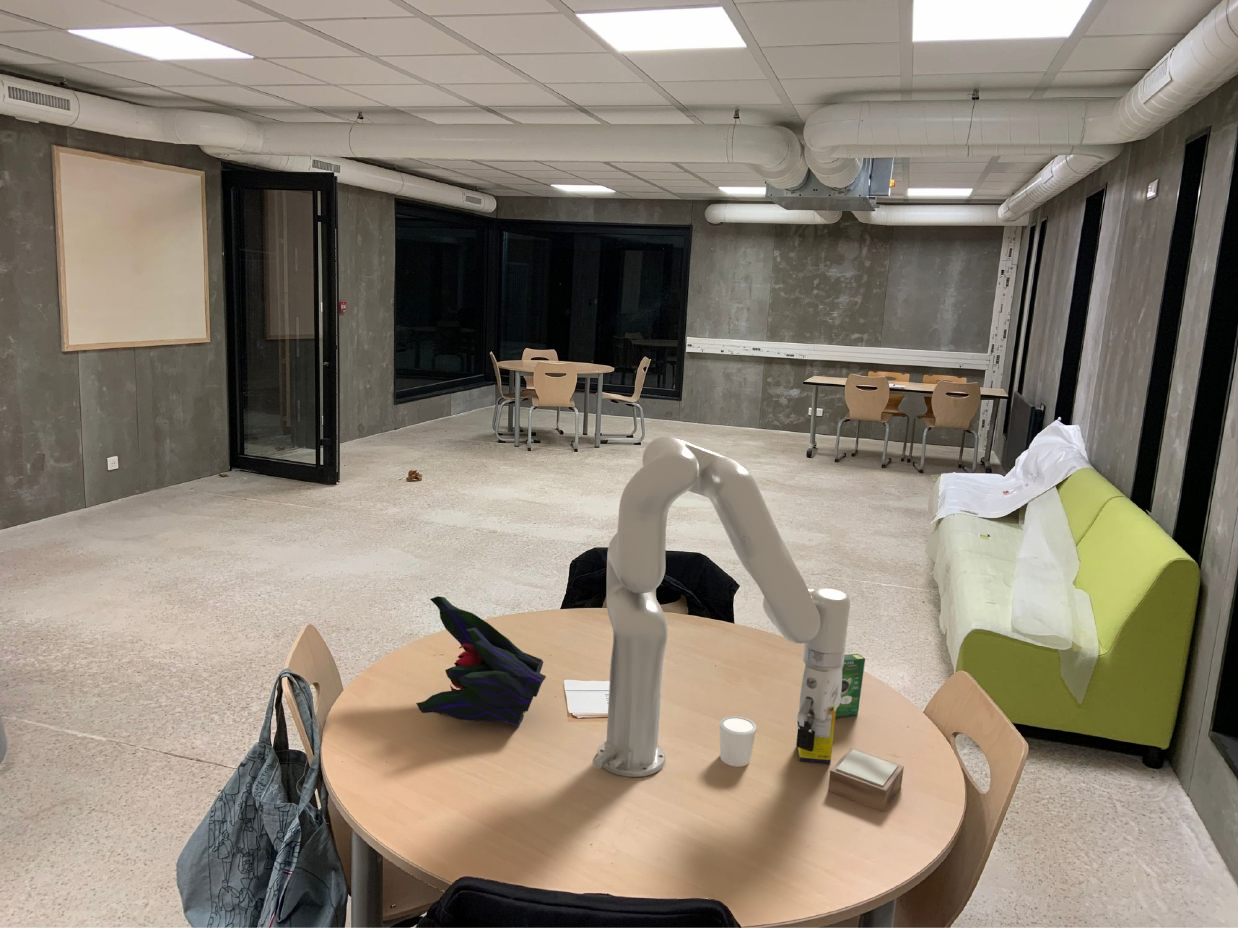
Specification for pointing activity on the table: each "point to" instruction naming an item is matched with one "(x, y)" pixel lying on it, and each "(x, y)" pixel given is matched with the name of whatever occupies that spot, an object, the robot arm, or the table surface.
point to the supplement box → (820, 740)
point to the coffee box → (851, 685)
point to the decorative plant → (484, 672)
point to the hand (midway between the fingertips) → (814, 738)
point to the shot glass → (736, 740)
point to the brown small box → (866, 779)
